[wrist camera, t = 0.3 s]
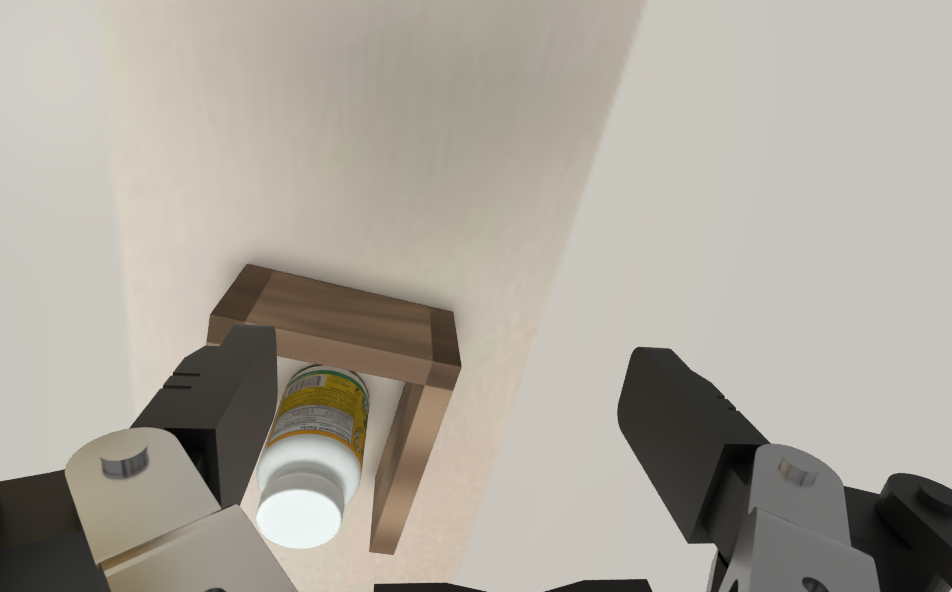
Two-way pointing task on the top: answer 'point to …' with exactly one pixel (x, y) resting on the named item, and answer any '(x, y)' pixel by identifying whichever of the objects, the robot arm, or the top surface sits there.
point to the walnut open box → (360, 365)
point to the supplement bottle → (312, 457)
